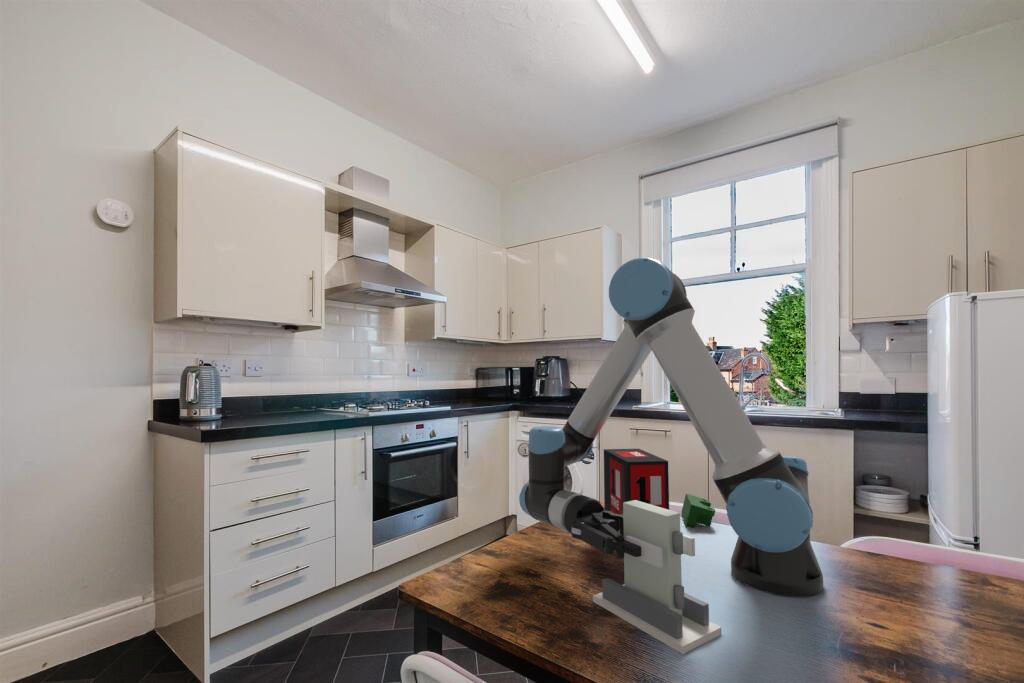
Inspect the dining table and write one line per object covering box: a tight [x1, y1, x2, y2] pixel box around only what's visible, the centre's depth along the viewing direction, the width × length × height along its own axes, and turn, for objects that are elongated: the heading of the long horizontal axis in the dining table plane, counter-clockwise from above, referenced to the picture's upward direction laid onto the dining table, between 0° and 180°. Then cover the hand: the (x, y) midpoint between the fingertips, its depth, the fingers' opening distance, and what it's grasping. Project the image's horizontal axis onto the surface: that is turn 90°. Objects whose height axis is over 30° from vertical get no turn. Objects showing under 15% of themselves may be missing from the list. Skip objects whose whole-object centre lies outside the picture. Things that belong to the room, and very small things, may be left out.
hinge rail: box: [592, 577, 723, 655], centre depth 75 cm, size 18×9×4 cm, turn 33°
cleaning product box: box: [603, 448, 670, 531], centre depth 108 cm, size 16×9×20 cm, turn 7°
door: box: [623, 500, 685, 615], centre depth 75 cm, size 10×3×16 cm, turn 33°
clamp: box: [681, 493, 716, 528], centre depth 123 cm, size 12×6×9 cm, turn 161°
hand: (677, 552), depth 72 cm, fingers open, 7 cm apart
